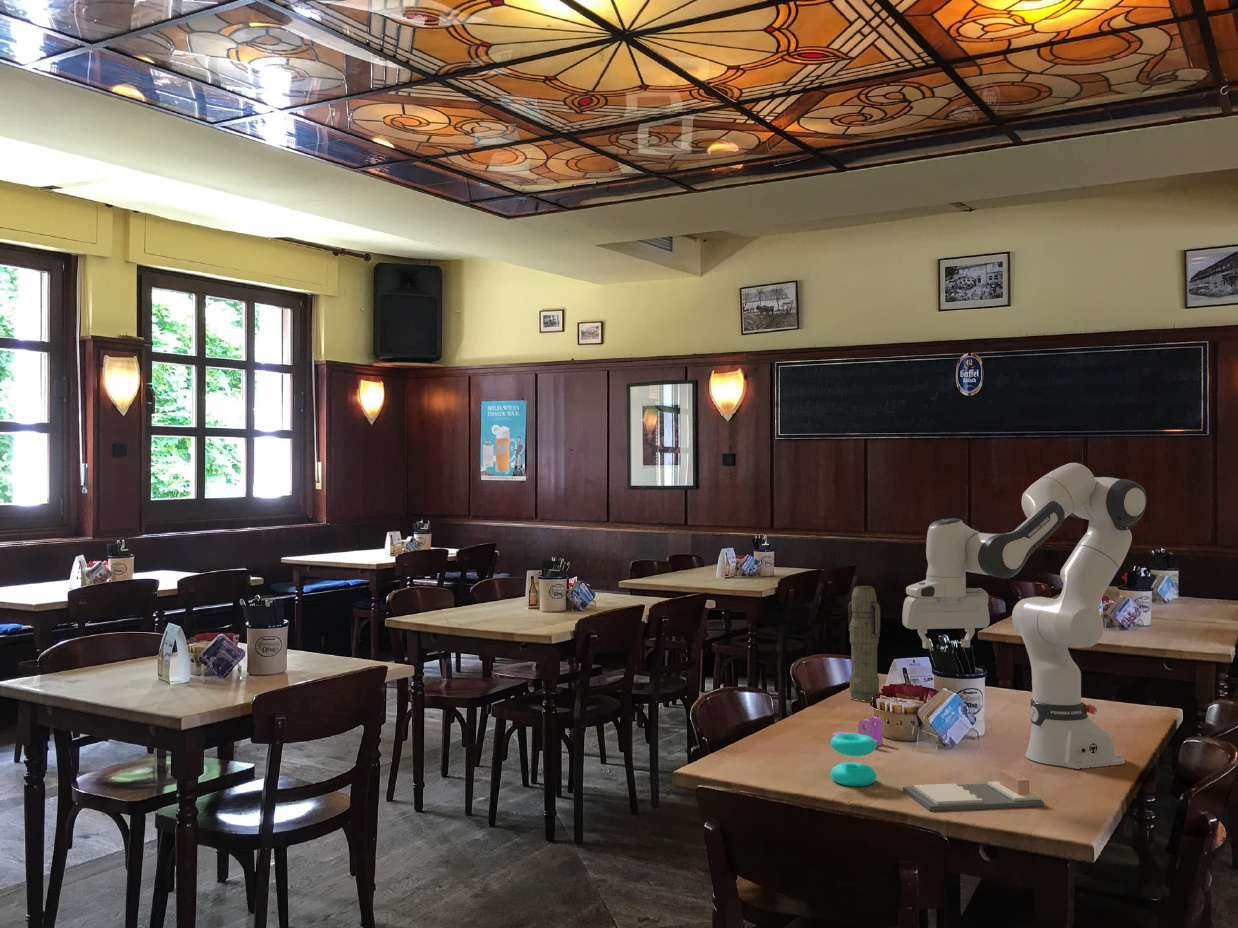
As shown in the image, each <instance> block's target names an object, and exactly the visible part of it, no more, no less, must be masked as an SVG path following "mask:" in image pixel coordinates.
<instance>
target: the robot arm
mask: <svg viewBox="0 0 1238 928" xmlns="http://www.w3.org/2000/svg"><path fill="white" fill-rule="evenodd" d="M1147 505H1148V498H1147V494H1146V490H1145V489H1144V487H1143V486H1142V485H1141V484H1140V483H1138V482H1136V481H1133V480H1129V479H1125V478H1123V479H1122V478H1121V479H1120V478H1115V477H1110V476H1109V477H1108V476H1107V477H1106V476H1101V477H1098V476H1097V477H1095V475H1094V474H1093V473H1092V471H1091V470H1090V469H1089V468H1088V467H1086V465H1083V464H1082V463H1079V462H1069V463H1066V464H1064V465H1061V466H1059V467H1057V468H1055V469H1053V470H1051V471H1050V472H1048V473H1046V474H1045V475H1043V476H1042V477H1040V478H1038V480H1036V481H1034V482H1033V483H1032V484H1031V485H1030V486H1028V488H1027V489H1026V490H1024V492H1023V493H1022V496H1021V508H1022V511H1023V513H1024V515H1025V517H1026V520H1024V521H1023V522H1022V523H1021V524H1020V525H1019V526H1017V528H1015V530H1012V531H1011V532H1005V533H988V532H987V533H985V532H980V531H979V530H977V529H976V530H975V529H973V528H971V527H970V526H968V525H966V523H964V522H963V520H962V519H959V518H953V517H952V518H943V519H938V520H935V521H933V522H932V523H930V525H929V526H928V529H927V534H926V548H925V550H926V551H925V553H926V555H925V556H926V560H927V570H926V573H925V575H926V577H925V579H924V580H921V581H919V582H916V583H912V584H910V585H908V586H906V588H905V593H906V595H908V596H907V597H905V598H904V601H903V608H902V625H903V626H904V627H905V628H906V629H909V630H917V634H918V636H919V637H920V639H921V641H922V642H921V643H922V648H923V649H932V640H930V639H928V637H927V636H926V635H927V634H928V630H936V629H937V630H938V629H941V630H943V629H948V630H949V629H964V632H965V633H966V634H965V636H964V638H961V639H960V647H961V648H964V649H965V648H968V649H969V648H970V647H971V640H972V639H973V637H974V635H975V633H976V631H975V630H976V629H987V628H988V626H989V625H990V621H991V620H990V619H991V618H990V611H989V610H990V609H989V593H988V592H987V591H986V589H985V590H984V589H983V588H981V587H976V588H975V587H974V588H973V587H967V586H966V585H967V583H966V582H967V581H966V579H967V577H966V576H967V575H966V572H968V573H972V574H973V573H974V574H980V575H986V576H992V577H996V578H999V579H1011V578H1013V577H1015V576H1016V575H1017V574H1018V573H1020V572H1021V570H1022V569H1023V568H1024V566H1025V564H1026V562H1027V561H1028V559H1029V558H1030V557H1031V555H1032V554H1033V553H1034V552H1035V551H1036V550H1037V549H1038V548H1039V547H1040V546H1041V545H1042V544H1043V543H1044V542H1046V541H1047V540H1048V539H1049V538H1050V537H1051V536H1052V535H1053V534H1054V533H1055V532H1056V531H1057V530H1058V529H1059V528H1061V526H1062V524H1063V522H1064V520H1065V519H1066V518H1067V517H1068V516H1070V517H1073V518H1076V519H1084V520H1088V527H1087V531H1086V533H1085V534H1084V535H1083V536H1082V537H1081V539H1080V540H1079V542H1078V543H1077V544H1076V546H1075V548H1074V549H1073V551H1072V552H1071V554H1070V555H1069V557H1068V559H1066V561H1065V562H1064V564H1063V566H1062V567H1061V569H1060V575H1059V576H1060V580H1061V581H1062V583H1063V585H1062V590H1061V593H1060V594H1059V596H1058V597H1056V598H1051V597H1045V596H1032V597H1026V598H1022V599H1020V600H1019V601H1018V602H1016V604H1015V605H1014V607H1013V609H1012V614H1011V621H1012V624H1013V627H1014V629H1015V631H1016V632H1017V633H1018V634H1019V635H1020V637H1021V638H1022V640H1023V643H1024V645H1025V648H1026V649H1025V650H1026V652H1027V654H1028V658H1029V659H1028V660H1029V662H1030V667H1031V686H1032V687H1031V688H1032V689H1031V692H1032V695H1031V696H1032V698H1031V699H1030V705H1029V706H1030V722H1031V724H1030V725H1031V728H1030V733H1029V734H1030V735H1029V740H1028V746H1027V749H1026V753H1025V757H1026V758H1027V759H1029V760H1031V761H1033V762H1037V763H1041V764H1046V765H1051V766H1059V767H1065V768H1068V769H1069V768H1070V769H1074V768H1075V769H1076V770H1077V769H1079V770H1081V769H1080V768H1082V769H1088V768H1090V767H1091V768H1099V767H1109V765H1110V766H1118V765H1125V763H1126V760H1125V758H1124V757H1123V756H1122V755H1121V754H1118V753H1117V752H1116V751H1115V747H1114V741H1113V739H1112V736H1111V734H1109V733H1108V732H1107V731H1106V730H1104V729H1103V728H1102V727H1101V726H1100V725H1098V724H1097V723H1096V722H1095V721H1093V719H1090V717H1089V715H1088V713H1089V714H1091V715H1095V714H1096V713H1097V711H1098V709H1097V707H1096V706H1095V705H1093V704H1086V703H1085V702H1082V673H1081V670H1080V668H1079V666H1078V665H1077V664H1076V662H1075V661H1074V660H1073V658H1072V656H1071V653H1070V651H1069V648H1070V649H1081V648H1083V649H1084V648H1090V647H1091V648H1092V647H1093V646H1095V645H1096V644H1098V642H1099V641H1100V640H1101V639H1102V636H1103V634H1104V630H1105V629H1104V625H1105V624H1104V621H1103V618H1102V615H1101V613H1100V608H1101V602H1102V600H1103V597H1104V594H1105V592H1106V591H1107V589H1108V587H1109V586H1110V584H1111V582H1112V581H1113V579H1114V578H1115V576H1116V574H1117V572H1118V571H1119V569H1120V568H1121V566H1122V564H1123V562H1124V560H1125V559H1126V557H1127V554H1128V552H1129V549H1130V547H1131V544H1132V542H1133V541H1132V539H1133V535H1132V532H1131V530H1132V529H1133V528H1134V527H1136V525H1137V524H1138V523H1139V521H1140V519H1141V518H1142V517H1143V515H1144V513H1145V511H1146V508H1147Z"/></svg>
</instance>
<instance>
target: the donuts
mask: <svg viewBox="0 0 1238 928" xmlns="http://www.w3.org/2000/svg"><path fill="white" fill-rule="evenodd" d="M830 746H831V747H832V749H833V750H834V751H835V752H836V753H839V754H841V755H845V756H848V757H850V756H851V757H862V756H867V755H870V754H872V753H874V751H876V750H875V749H876V748H877V746H876V742H875V740H874V739H873V738H871V737H869V736H867V735H862V734H858V733H854V732H849V733H845V734H839V735H836V736H834V737H833V736H832V738H831V740H830ZM830 777H831V778H832V781H834V782H836V783H838V784H839V785H844V786H849V787H864V786H870V785H872V784H873V783H874V782H875V781H876V779H877V773H876V772H875V770H874V769H873V768H872V767H871V766H869V765H868V764H865V763H860V762H843V763H838V764H837V765H835V766H834V767H833V768H832V769H831V771H830Z"/></svg>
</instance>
